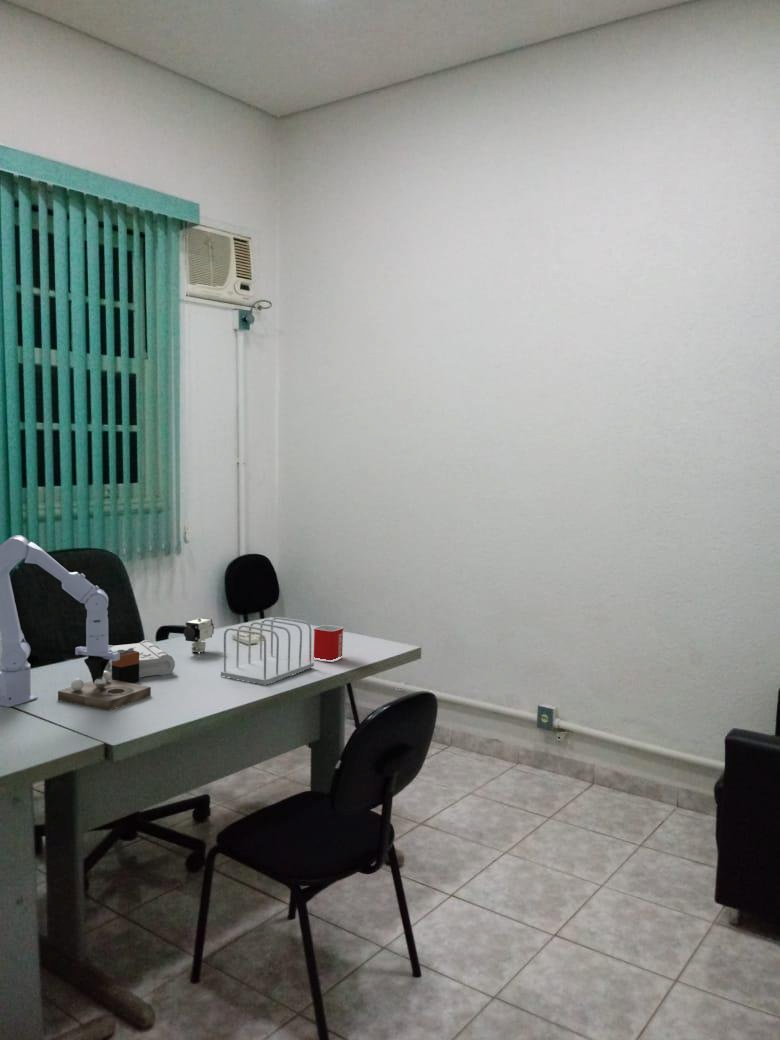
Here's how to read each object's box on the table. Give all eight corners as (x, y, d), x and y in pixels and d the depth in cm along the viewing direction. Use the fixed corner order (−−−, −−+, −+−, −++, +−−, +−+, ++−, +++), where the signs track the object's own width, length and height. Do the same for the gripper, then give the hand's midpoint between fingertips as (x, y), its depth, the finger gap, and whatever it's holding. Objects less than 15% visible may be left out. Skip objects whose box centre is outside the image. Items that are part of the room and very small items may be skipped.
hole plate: (107, 710, 216) (107, 701, 216) (57, 700, 224) (58, 690, 224) (150, 695, 231) (150, 687, 230) (102, 686, 238) (102, 677, 238)
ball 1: (77, 692, 223) (77, 681, 222) (68, 691, 224) (68, 679, 224) (86, 690, 226) (86, 678, 225) (77, 688, 227) (77, 676, 227)
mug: (332, 663, 273) (332, 631, 272) (310, 660, 277) (311, 628, 276) (350, 656, 284) (351, 625, 283) (329, 653, 287) (330, 622, 286)
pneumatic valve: (182, 655, 277) (183, 619, 276) (202, 648, 288) (202, 614, 287) (196, 657, 275) (197, 621, 275) (216, 649, 286) (216, 615, 286)
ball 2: (105, 684, 232) (105, 673, 231) (96, 682, 233) (96, 671, 233) (113, 681, 235) (113, 670, 234) (105, 679, 236) (105, 668, 236)
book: (150, 655, 277) (149, 632, 277) (175, 675, 253) (175, 651, 253) (90, 662, 267) (89, 639, 266) (111, 684, 243) (110, 658, 243)
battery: (110, 684, 241) (111, 650, 240) (130, 679, 247) (130, 646, 246) (120, 686, 239) (120, 652, 238) (139, 682, 244) (140, 648, 243)
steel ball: (90, 680, 227) (94, 691, 227) (98, 676, 226) (102, 687, 226) (98, 677, 230) (102, 688, 230) (106, 673, 229) (110, 684, 229)
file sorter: (271, 661, 274) (272, 614, 273) (314, 669, 266) (315, 621, 264) (220, 677, 253) (220, 626, 251) (265, 686, 244) (266, 634, 243)
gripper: (127, 634, 228) (128, 683, 229) (88, 628, 234) (89, 675, 235) (109, 639, 222) (109, 689, 223) (69, 633, 228) (69, 681, 229)
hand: (97, 683), depth 229 cm, fingers closed, pressing on steel ball
